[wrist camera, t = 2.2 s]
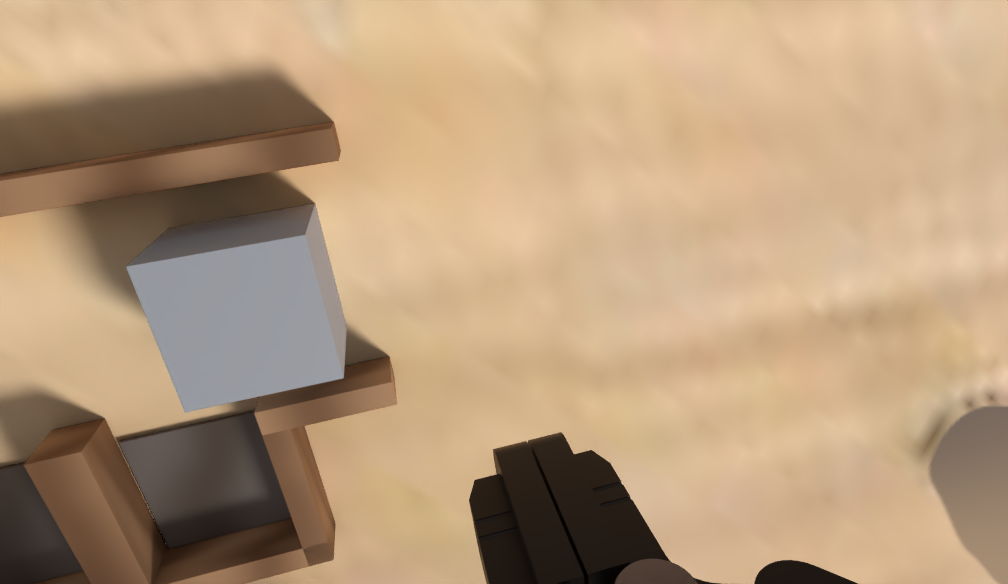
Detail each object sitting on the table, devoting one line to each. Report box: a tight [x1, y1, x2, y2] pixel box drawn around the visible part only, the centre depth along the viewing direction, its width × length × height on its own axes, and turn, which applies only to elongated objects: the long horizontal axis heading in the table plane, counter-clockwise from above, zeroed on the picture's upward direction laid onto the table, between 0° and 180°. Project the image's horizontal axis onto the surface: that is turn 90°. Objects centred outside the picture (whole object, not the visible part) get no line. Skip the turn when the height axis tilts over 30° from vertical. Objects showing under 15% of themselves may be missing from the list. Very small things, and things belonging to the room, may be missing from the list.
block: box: [126, 204, 347, 412], centre depth 24 cm, size 6×6×5 cm
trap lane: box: [0, 122, 397, 584], centre depth 25 cm, size 27×20×2 cm
